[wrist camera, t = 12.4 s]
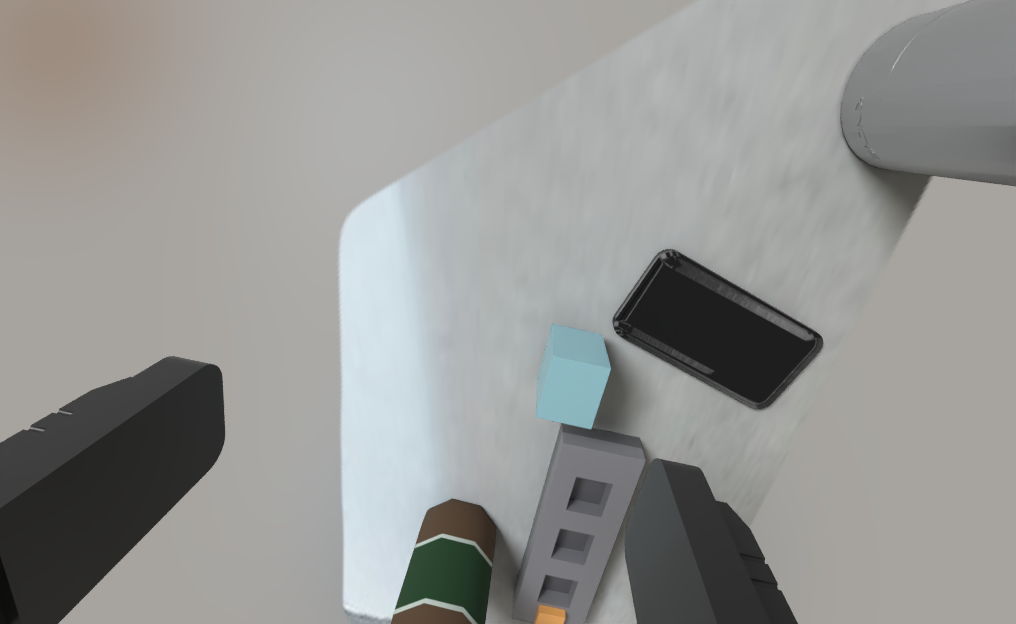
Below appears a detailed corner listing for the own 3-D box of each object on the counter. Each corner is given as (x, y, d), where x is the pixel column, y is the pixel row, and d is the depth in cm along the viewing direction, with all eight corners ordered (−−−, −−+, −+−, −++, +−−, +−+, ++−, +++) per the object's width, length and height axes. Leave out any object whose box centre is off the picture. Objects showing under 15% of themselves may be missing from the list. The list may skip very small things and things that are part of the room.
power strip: (561, 421, 41) (563, 449, 38) (639, 437, 41) (647, 466, 38) (514, 590, 50) (511, 626, 46) (578, 604, 50) (580, 641, 46)
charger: (551, 315, 38) (552, 356, 31) (600, 326, 38) (611, 368, 31) (537, 368, 40) (536, 417, 33) (583, 379, 40) (591, 429, 33)
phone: (666, 245, 34) (830, 340, 36) (662, 242, 35) (822, 334, 37) (607, 330, 37) (761, 414, 39) (605, 325, 38) (755, 407, 40)
